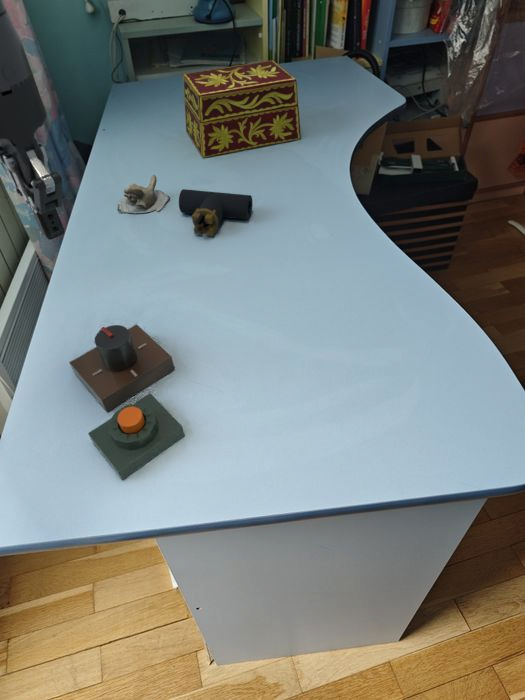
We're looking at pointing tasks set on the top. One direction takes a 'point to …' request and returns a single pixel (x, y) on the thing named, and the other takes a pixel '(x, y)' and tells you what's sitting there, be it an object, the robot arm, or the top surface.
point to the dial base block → (128, 382)
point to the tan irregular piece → (142, 198)
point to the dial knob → (115, 348)
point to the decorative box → (241, 108)
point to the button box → (137, 437)
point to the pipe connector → (213, 208)
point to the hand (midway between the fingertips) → (54, 234)
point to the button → (131, 420)
